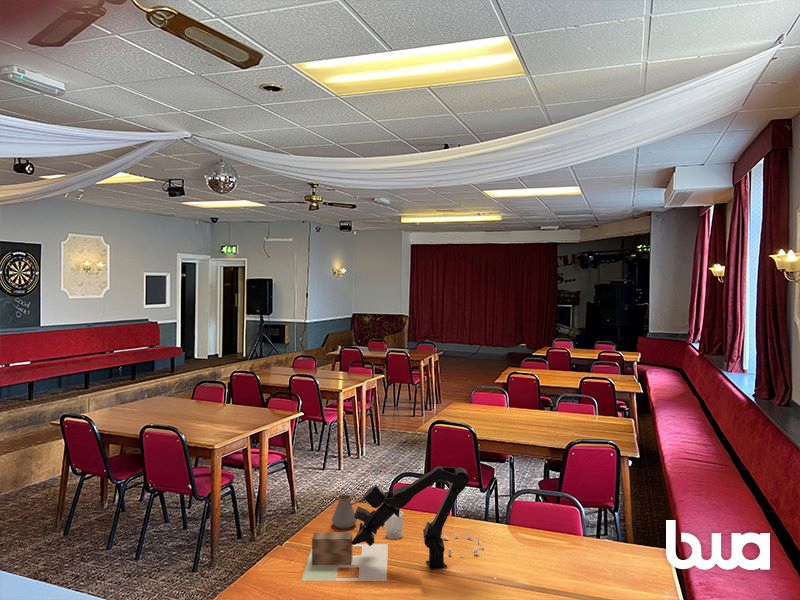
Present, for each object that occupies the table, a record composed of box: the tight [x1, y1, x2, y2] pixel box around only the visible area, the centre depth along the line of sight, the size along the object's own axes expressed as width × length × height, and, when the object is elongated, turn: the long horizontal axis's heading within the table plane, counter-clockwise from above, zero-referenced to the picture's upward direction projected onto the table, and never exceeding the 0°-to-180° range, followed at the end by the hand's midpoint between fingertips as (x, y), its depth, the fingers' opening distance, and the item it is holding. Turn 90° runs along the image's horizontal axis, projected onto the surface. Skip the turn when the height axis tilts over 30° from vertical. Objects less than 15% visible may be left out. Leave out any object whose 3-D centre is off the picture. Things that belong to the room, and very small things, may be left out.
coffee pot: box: [331, 494, 367, 530], centre depth 263 cm, size 21×12×15 cm, turn 79°
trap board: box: [301, 543, 389, 582], centre depth 227 cm, size 31×30×2 cm
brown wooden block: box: [311, 531, 353, 565], centre depth 226 cm, size 15×6×10 cm, turn 90°
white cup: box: [385, 510, 404, 540], centre depth 253 cm, size 8×8×10 cm
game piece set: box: [442, 531, 485, 558], centre depth 243 cm, size 19×20×4 cm
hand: (352, 543), depth 226 cm, fingers closed, pressing on brown wooden block
